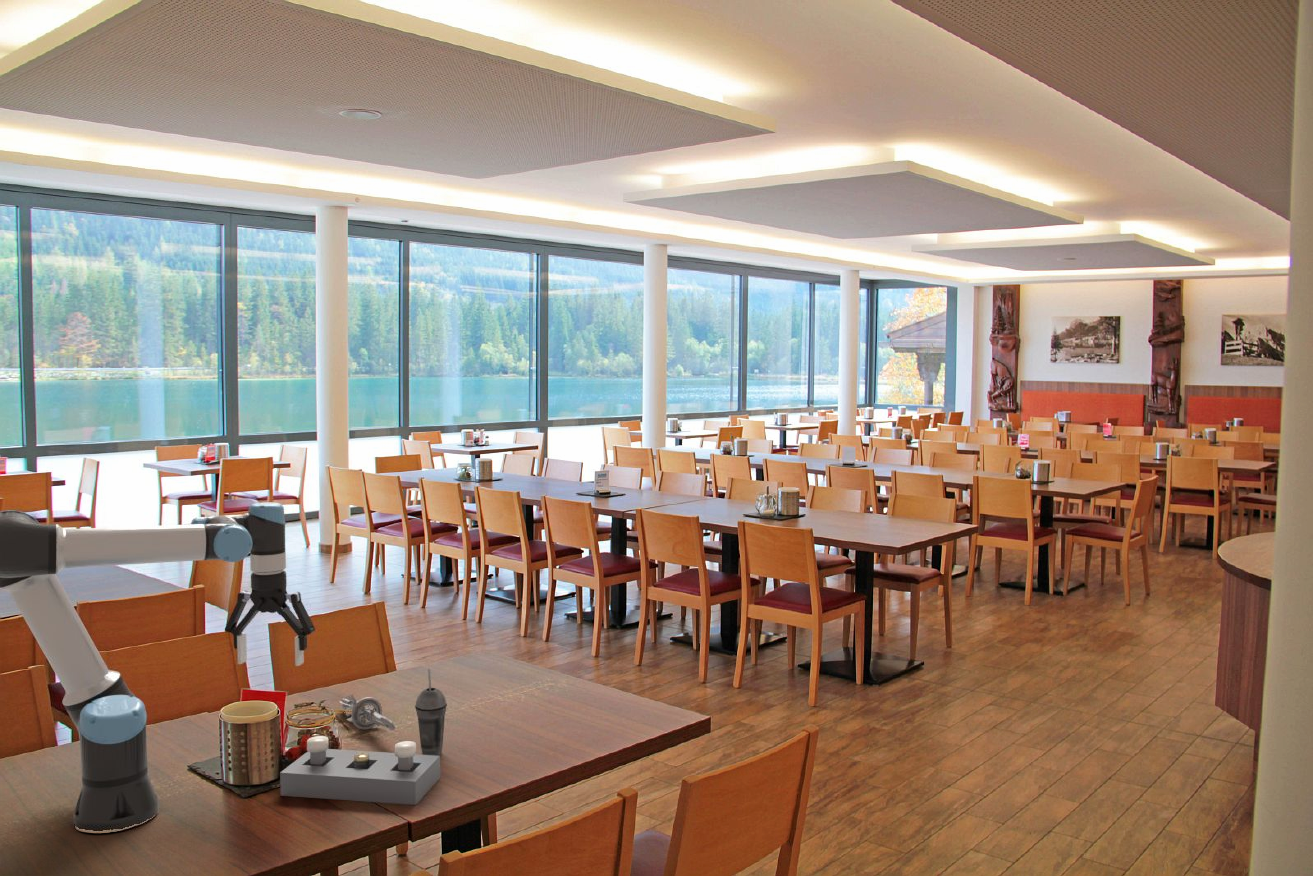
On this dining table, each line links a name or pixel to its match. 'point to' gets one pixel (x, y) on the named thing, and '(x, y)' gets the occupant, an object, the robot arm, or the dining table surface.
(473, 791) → the dining table surface
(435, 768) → the console
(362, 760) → the pot knob
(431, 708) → the beverage cup
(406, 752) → the right knob
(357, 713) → the spaceship
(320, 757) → the left knob
